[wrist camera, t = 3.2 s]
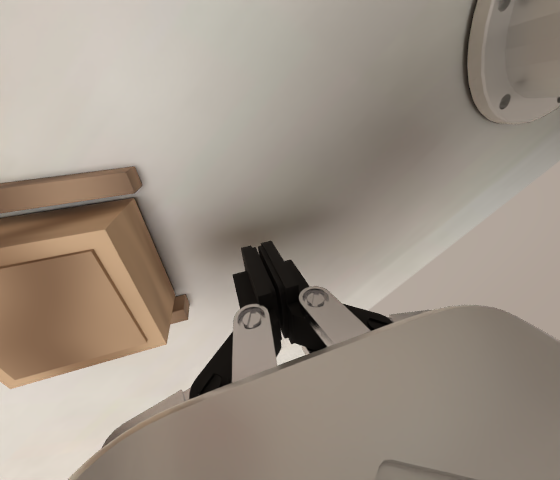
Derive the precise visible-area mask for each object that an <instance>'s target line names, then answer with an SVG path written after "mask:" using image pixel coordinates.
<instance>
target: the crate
mask: <svg viewBox="0 0 560 480" xmlns="http://www.w3.org/2000/svg"><path fill="white" fill-rule="evenodd" d="M174 300H175V293H174V290H173V288H172V286H171V283H170V281H169V279H168V276H167V274H166V272H165V269H164V267H163V265H162V262H161V260H160V258H159V255H158V253H157V251H156V248H155V246H154V244H153V241H152V239H151V237H150V234H149V232H148V230H147V227H146V225H145V223H144V220H143V218H142V216H141V213H140V211H139V209H138V206H137V204H136V202H135V199H134V198H130V199H124V200H117V201H111V202H104V203H98V204H91V205H85V206H78V207H72V208H65V209H59V210H52V211H46V212H39V213H33V214H26V215H20V216H13V217H7V218H0V382H2V383H3V384H4V385H6V386H7V387H8V388H10V389H12V388H16V387H19V386H23V385H26V384H30V383H33V382H36V381H40V380H43V379H47V378H50V377H54V376H57V375H61V374H64V373H68V372H71V371H75V370H78V369H82V368H85V367H89V366H92V365H96V364H99V363H103V362H106V361H110V360H113V359H117V358H120V357H124V356H127V355H131V354H134V353H138V352H141V351H145V350H148V349H152V348H155V347H159V346H162V345H166V344H167V339H168V334H169V328H170V322H171V317H172V311H173V305H174Z"/></svg>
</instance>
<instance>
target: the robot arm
mask: <svg viewBox="0 0 560 480" xmlns="http://www.w3.org/2000/svg"><path fill="white" fill-rule="evenodd" d="M467 69H468V80H469V87H470V90H471V94H472V97H473V101H474V103H475V104H476V106H477V108H478V110H479V111H480V113H481V114H483V115H484V116H485V117H486V118H487V119H488V120H491V121H493V122H496V123H501V124H522V123H529V122H531V121H534V120H537V119H539V118H542V117H543V116H545V115H547V114H548V113H550V112H552V111H553V110H555V109H557V108H558V107H559V106H560V0H478V1H477V5H476V8H475V12H474V15H473V20H472V26H471V32H470V37H469V44H468V61H467ZM258 250H259V254H258V252H257V249H256V247H254V248H252V247H251V246H247V247H243V248H241V251H242V256H243V261H244V266H245V272H241V273H237V274H233V279H234V283H235V288H236V292H237V297H238V301H239V306H240V310H239V311H237V313H236V314H235V316H234V320H233V332H232V333H231V335H230V336H229V337H228V338H227V340H226V341H225V342H224V344H223V345H222V346H221V347H220V349H219V350H218V351H217V352H216V354H215V355H214V356H213V358H212V359H211V360H210V361H209V363H208V364H207V365H206V367H205V368H204V369H203V370H202V372H201V373H200V374H199V375H198V377H197V378H196V379H195V381H194V383H193V384H192V386H191V388H189V389H187V390H186V391H184V392H183V391H182V390H180V391H178V392H176V393H175V394H173V395H171V396H170V397H168V398H166V399H165V400H163V401H161V402H159V403H158V404H156V405H154V406H153V407H151V408H149V409H148V410H146V411H144V412H143V413H141V414H139V415H137V416H136V417H134V418H132V419H131V420H129V421H127V422H126V423H124V424H122V425H121V426H120V427H118V428H117V429H116V430H114V432H113V433H112V434H111V435H110V436H109V437H108V438H107V440H106V441H105V443H104V445H103V447H102V448H101V450H99V451H98V452H97V453H95V454H94V455H93V456H92V457H91V458H90V459H89V460H87V461H86V462H85V463H84V464H83V465H82V466H81V467H80V468H79V469H78V470H77V471H76V472H75V473H74V474H72V476H71V477H70V478H69V479H68V480H560V340H558V339H556V338H554V337H553V336H551V335H549V334H548V333H546V332H544V331H542V330H541V329H539V328H537V327H535V326H533V325H532V324H530V323H528V322H526V321H524V320H522V319H520V318H518V317H517V316H514V315H512V314H510V313H508V312H506V311H503V310H501V309H497V308H494V307H488V306H479V305H458V306H448V307H444V308H439V309H434V310H425V311H417V312H408V313H399V314H391V315H389V317H388V318H387V317H386V316H383V315H381V314H378V313H374V312H370V311H367V310H363V309H360V308H356V307H353V306H349V305H345V304H342V303H341V302H340V301H339V300H338V299H337V298H336V297H335V296H334V295H332V294H331V293H330V292H329V291H328V290H327V289H325V288H322V287H318V286H311V287H310V286H309V285H308V283H307V282H306V281H305V279H304V278H303V276H302V275H301V273H300V272H299V270H298V269H297V267H296V266H295V264H294V263H293V262H292V260H287V261H283V259H282V257H281V256H280V254H279V252H278V251H277V249H276V248H275V246H274V244H273V243H272V241H268V242H264V243H261V246H258ZM280 328H281V329H280ZM281 331H282V333H283V336H284V338H289V340H290V343H291V344H293V343H296V344H299V345H302V349H303V351H304V353H305V356H302V357H299V358H297V359H294V360H291V361H289V362H286V363H283V364H281V365H278V366H277V361H276V357H277V355H278V353H279V351H280V349H281V340H282V337H281Z"/></svg>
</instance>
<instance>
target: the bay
mask: <svg viewBox="0 0 560 480" xmlns="http://www.w3.org/2000/svg"><path fill="white" fill-rule="evenodd" d="M141 186H142V184H141V181H140V178H139V176H138V173H137V171H136V168H135V166H134V167H126V168H118V169H111V170H103V171H95V172H87V173H79V174H71V175H63V176H56V177H48V178H40V179H32V180H24V181H16V182H8V183H0V213H6V212H13V211H19V210H26V209H33V208H39V207H46V206H53V205H59V204H66V203H73V202H79V201H86V200H93V199H99V198H106V197H113V196H119V195H126V194H133V193H135V192H136V191H137V190H138V189H139V188H140V187H141ZM188 314H189V302H188V299H187V297H186V294H185V295H180V296H176V297H175V300H174V305H173V311H172V317H171V322H170V324H173V323H177V322H181V321H184V320H188Z"/></svg>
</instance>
